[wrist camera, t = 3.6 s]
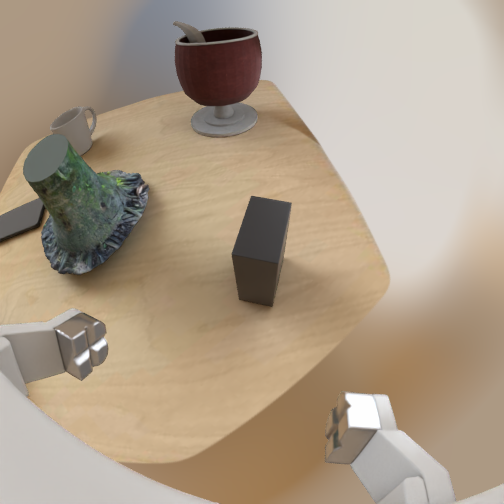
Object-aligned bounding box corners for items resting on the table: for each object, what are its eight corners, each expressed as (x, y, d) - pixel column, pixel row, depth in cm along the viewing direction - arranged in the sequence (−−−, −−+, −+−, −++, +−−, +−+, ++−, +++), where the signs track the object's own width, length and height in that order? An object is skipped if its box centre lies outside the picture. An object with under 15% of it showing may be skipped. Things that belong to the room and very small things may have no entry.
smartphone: (37, 224, 33) (-12, 244, 31) (40, 227, 34) (-9, 246, 32) (46, 194, 37) (-3, 216, 35) (49, 197, 37) (0, 218, 36)
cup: (60, 158, 43) (44, 128, 36) (93, 129, 48) (80, 99, 41) (76, 164, 41) (58, 130, 34) (111, 133, 46) (99, 100, 39)
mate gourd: (274, 111, 47) (277, 15, 30) (235, 147, 41) (227, 26, 24) (209, 97, 51) (200, 14, 34) (165, 128, 45) (143, 32, 28)
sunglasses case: (283, 257, 30) (291, 202, 22) (272, 307, 27) (278, 263, 19) (252, 250, 31) (251, 195, 23) (238, 299, 28) (231, 254, 20)
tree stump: (137, 156, 41) (115, 72, 25) (176, 257, 37) (152, 182, 20) (46, 200, 36) (-4, 134, 20) (66, 308, 31) (-15, 272, 15)
